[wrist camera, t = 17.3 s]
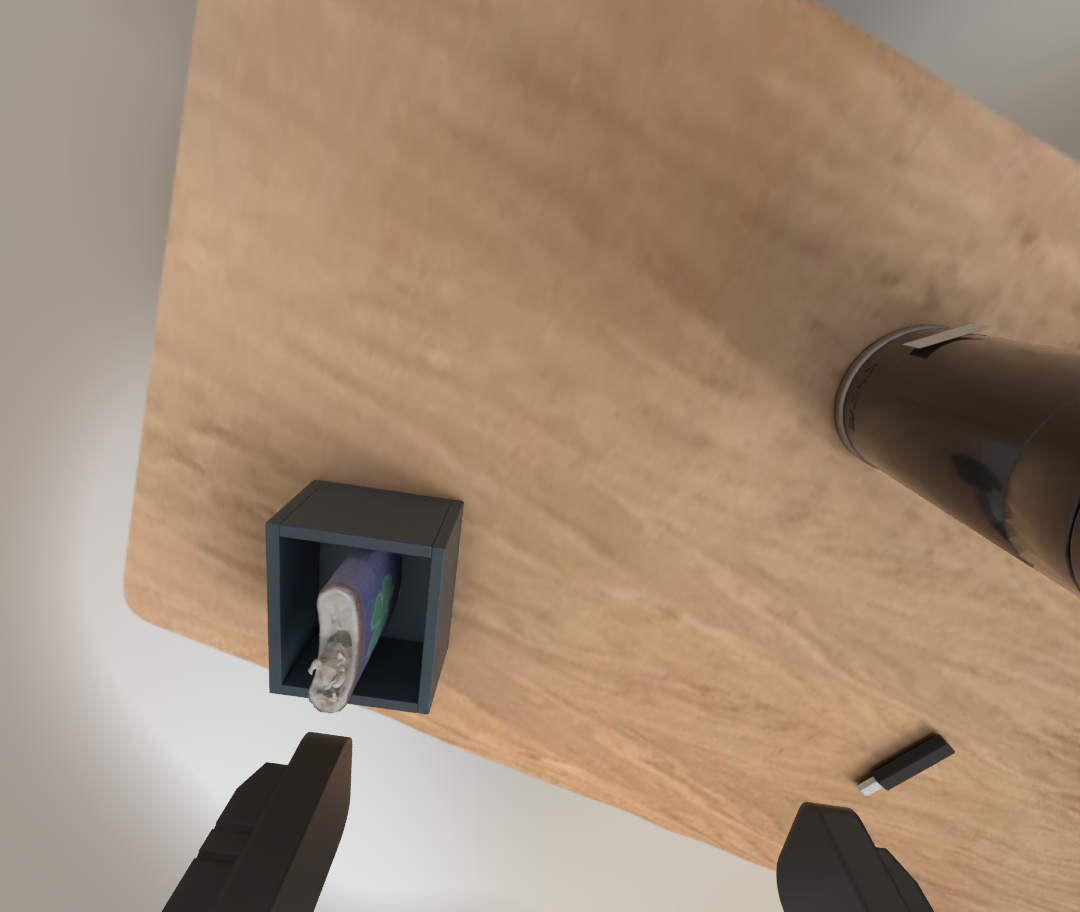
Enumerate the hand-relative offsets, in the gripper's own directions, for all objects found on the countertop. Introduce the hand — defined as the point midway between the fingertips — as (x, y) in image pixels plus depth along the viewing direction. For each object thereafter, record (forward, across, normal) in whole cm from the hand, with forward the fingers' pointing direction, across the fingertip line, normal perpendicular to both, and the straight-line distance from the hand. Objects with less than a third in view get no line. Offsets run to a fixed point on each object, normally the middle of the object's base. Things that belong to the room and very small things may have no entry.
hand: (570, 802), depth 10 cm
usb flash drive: (+27, -32, +25) cm, 49 cm away
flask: (+28, +11, +14) cm, 33 cm away
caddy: (+28, +11, +14) cm, 33 cm away
